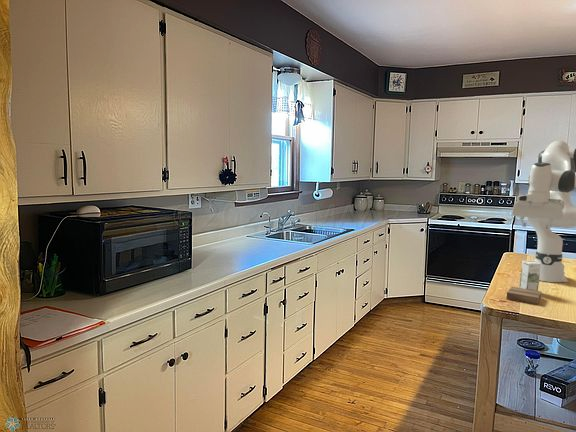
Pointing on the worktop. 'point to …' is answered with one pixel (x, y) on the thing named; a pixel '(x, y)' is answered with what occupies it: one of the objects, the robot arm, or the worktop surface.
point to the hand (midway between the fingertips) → (535, 227)
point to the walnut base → (524, 295)
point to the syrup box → (530, 275)
